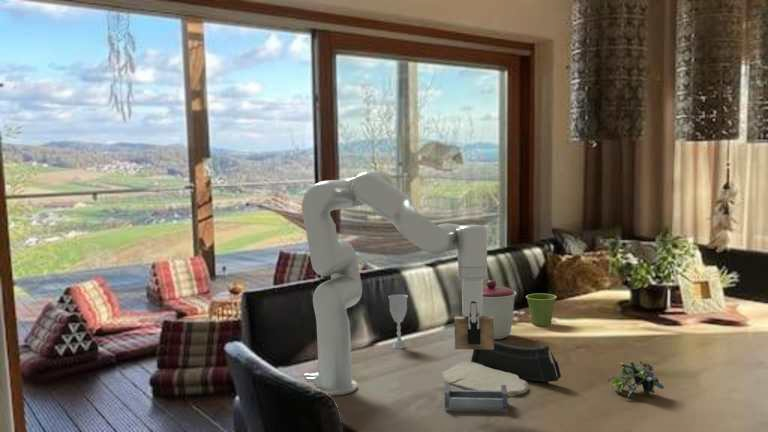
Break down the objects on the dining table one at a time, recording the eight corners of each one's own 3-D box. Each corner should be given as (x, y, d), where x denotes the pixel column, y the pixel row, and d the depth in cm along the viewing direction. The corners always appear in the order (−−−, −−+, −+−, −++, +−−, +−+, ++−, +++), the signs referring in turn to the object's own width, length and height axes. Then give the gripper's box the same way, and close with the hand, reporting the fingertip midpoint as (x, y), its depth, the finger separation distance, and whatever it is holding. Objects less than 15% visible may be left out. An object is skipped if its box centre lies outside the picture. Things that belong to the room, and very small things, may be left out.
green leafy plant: (646, 412, 180) (673, 382, 175) (624, 414, 174) (652, 383, 169) (618, 380, 188) (644, 351, 183) (596, 382, 181) (622, 351, 176)
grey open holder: (445, 410, 170) (444, 392, 170) (445, 401, 177) (445, 383, 177) (507, 412, 168) (507, 393, 168) (506, 402, 175) (505, 384, 175)
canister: (527, 337, 241) (526, 280, 239) (491, 345, 231) (490, 286, 229) (492, 328, 256) (492, 274, 254) (457, 335, 246) (456, 279, 244)
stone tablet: (467, 366, 209) (467, 359, 209) (540, 390, 185) (540, 382, 185) (427, 377, 199) (427, 370, 199) (499, 404, 175) (499, 395, 175)
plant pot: (524, 320, 266) (524, 293, 265) (554, 321, 265) (554, 293, 264) (527, 328, 254) (526, 299, 254) (558, 328, 253) (558, 299, 252)
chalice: (398, 350, 228) (396, 299, 226) (385, 346, 233) (383, 296, 231) (413, 346, 232) (412, 296, 231) (400, 342, 237) (399, 293, 236)
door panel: (455, 349, 171) (454, 319, 170) (455, 346, 174) (454, 316, 173) (493, 349, 170) (493, 319, 169) (493, 346, 173) (492, 316, 172)
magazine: (464, 337, 208) (541, 324, 187) (470, 335, 211) (548, 322, 189) (477, 391, 206) (557, 385, 185) (483, 389, 208) (563, 382, 187)
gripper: (458, 267, 179) (459, 334, 180) (457, 277, 163) (459, 350, 164) (486, 267, 178) (487, 334, 179) (488, 277, 162) (489, 350, 163)
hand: (474, 341), depth 172 cm, fingers closed on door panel, 3 cm apart
